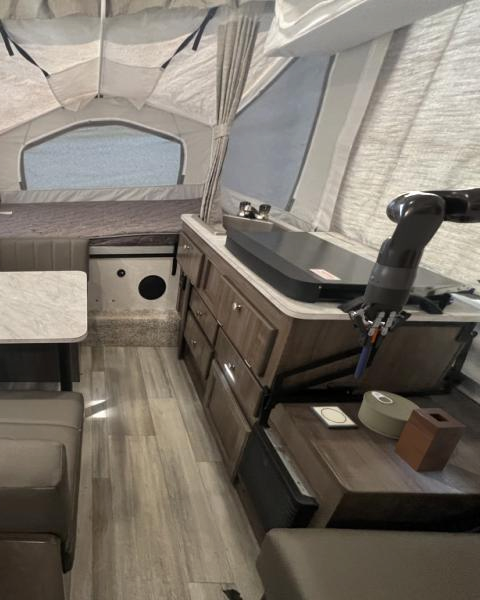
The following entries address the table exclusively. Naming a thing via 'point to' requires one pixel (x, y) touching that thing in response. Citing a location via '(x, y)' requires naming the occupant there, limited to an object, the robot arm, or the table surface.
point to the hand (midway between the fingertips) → (368, 346)
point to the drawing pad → (333, 417)
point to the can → (385, 413)
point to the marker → (364, 357)
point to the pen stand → (429, 439)
